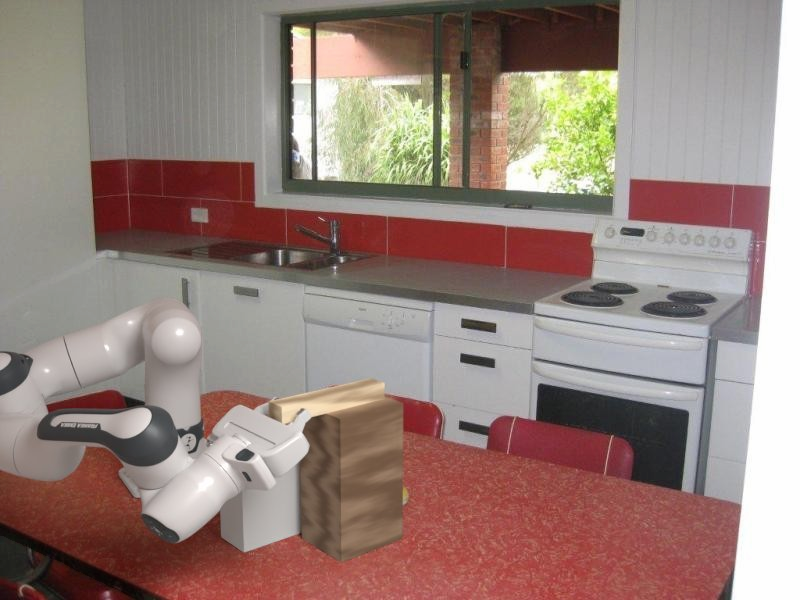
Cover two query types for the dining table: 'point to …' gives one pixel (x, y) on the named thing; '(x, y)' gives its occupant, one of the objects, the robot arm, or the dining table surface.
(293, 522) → the grey step
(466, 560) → the dining table surface
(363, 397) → the oak slat
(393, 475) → the walnut block
